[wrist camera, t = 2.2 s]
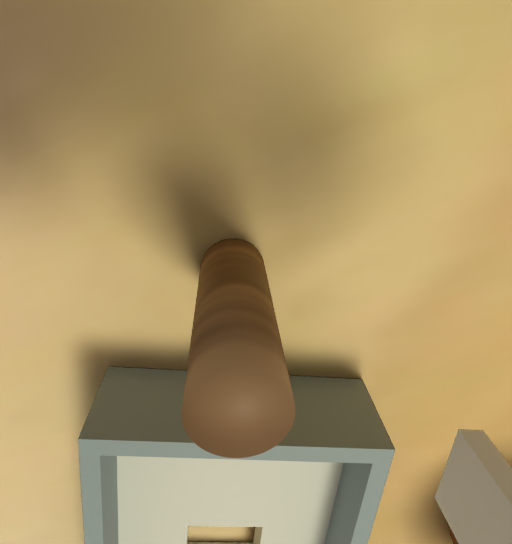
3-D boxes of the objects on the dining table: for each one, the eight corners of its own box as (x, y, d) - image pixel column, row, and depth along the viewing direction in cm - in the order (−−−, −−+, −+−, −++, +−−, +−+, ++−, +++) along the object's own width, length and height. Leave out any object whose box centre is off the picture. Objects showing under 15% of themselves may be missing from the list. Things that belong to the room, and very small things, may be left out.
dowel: (202, 236, 24) (184, 364, 13) (267, 241, 24) (303, 370, 13) (198, 295, 25) (178, 456, 14) (260, 299, 26) (287, 459, 15)
